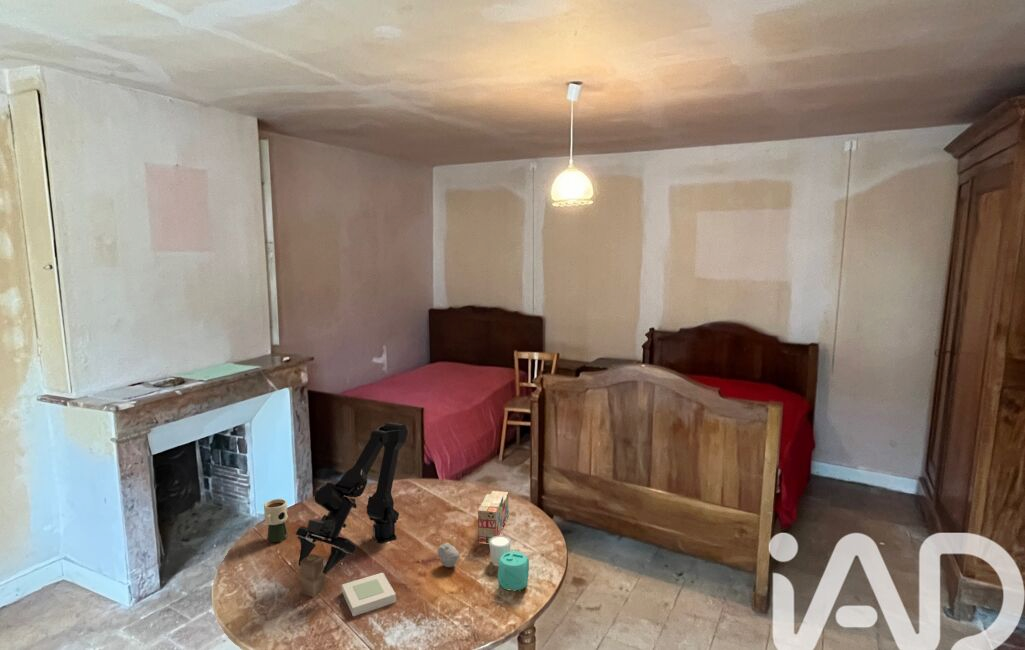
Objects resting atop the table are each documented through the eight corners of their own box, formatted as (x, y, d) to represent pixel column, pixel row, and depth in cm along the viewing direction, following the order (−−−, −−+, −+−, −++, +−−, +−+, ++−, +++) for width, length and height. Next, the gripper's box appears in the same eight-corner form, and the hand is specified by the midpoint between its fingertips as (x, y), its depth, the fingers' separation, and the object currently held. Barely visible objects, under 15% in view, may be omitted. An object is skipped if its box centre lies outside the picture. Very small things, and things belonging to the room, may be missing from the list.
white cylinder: (514, 558, 178) (514, 538, 177) (505, 569, 171) (505, 548, 170) (495, 553, 180) (495, 533, 179) (485, 564, 174) (485, 543, 173)
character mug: (279, 548, 184) (277, 511, 182) (259, 547, 184) (256, 510, 182) (295, 531, 195) (293, 496, 193) (275, 530, 195) (273, 495, 193)
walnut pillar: (313, 584, 164) (311, 551, 162) (324, 588, 162) (323, 555, 161) (302, 593, 160) (300, 559, 159) (313, 597, 158) (311, 563, 157)
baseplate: (383, 580, 166) (382, 572, 166) (396, 602, 156) (395, 593, 156) (342, 592, 160) (341, 584, 160) (353, 616, 150) (352, 607, 150)
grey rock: (444, 558, 178) (444, 537, 177) (463, 563, 175) (463, 542, 174) (433, 568, 172) (433, 547, 171) (453, 573, 169) (452, 552, 168)
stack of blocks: (492, 514, 207) (492, 482, 205) (508, 515, 206) (508, 484, 204) (478, 544, 186) (477, 509, 185) (496, 546, 185) (496, 511, 183)
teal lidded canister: (524, 593, 160) (524, 567, 159) (497, 590, 162) (497, 564, 160) (529, 576, 168) (529, 552, 167) (503, 574, 169) (502, 549, 168)
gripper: (298, 500, 166) (270, 553, 158) (347, 513, 158) (320, 569, 150) (319, 514, 174) (293, 564, 166) (366, 526, 167) (342, 580, 158)
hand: (311, 569), depth 160 cm, fingers open, 9 cm apart
